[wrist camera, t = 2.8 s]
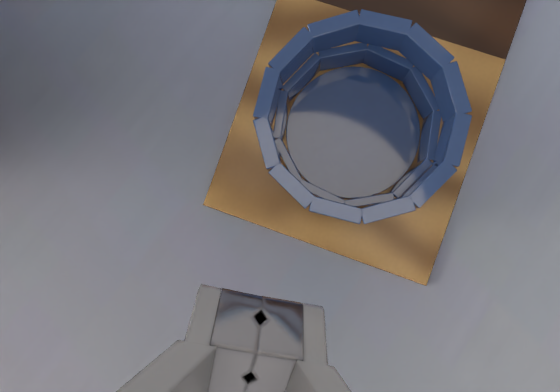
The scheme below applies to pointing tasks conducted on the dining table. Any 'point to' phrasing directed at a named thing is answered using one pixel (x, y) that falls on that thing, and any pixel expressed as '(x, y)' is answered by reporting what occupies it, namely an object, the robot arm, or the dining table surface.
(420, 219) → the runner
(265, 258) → the dining table surface
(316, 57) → the bowl
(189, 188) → the dining table surface
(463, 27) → the mat
